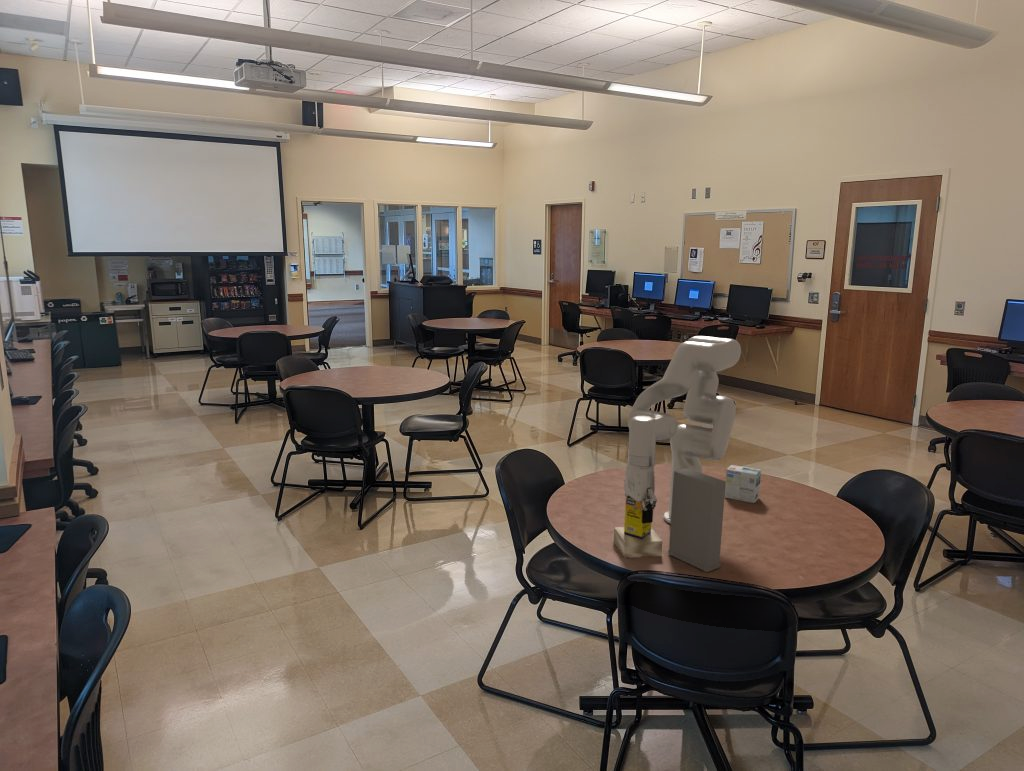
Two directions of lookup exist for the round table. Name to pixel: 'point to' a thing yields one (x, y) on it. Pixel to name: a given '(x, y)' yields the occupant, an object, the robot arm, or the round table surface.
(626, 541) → the birch block
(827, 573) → the round table surface
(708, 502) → the upright grey panel
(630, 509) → the supplement box
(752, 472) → the light bulb box
